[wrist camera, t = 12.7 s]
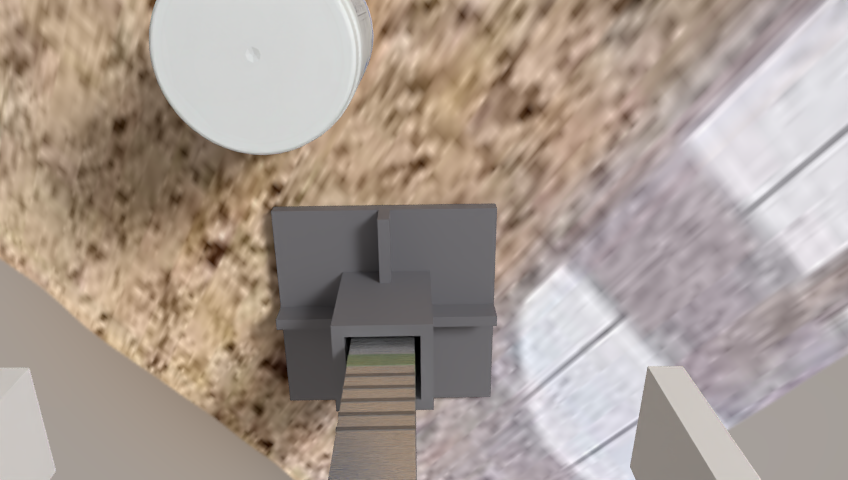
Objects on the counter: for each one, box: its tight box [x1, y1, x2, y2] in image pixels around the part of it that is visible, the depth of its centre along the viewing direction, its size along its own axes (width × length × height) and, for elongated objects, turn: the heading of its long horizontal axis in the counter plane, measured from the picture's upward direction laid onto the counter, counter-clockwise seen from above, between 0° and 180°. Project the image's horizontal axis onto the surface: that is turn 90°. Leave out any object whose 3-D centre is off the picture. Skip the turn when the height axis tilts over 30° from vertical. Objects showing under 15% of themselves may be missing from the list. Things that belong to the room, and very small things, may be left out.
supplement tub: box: [149, 0, 373, 155], centre depth 36 cm, size 10×10×15 cm
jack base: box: [271, 204, 497, 411], centre depth 46 cm, size 16×16×9 cm
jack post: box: [328, 336, 417, 480], centre depth 35 cm, size 4×4×20 cm
